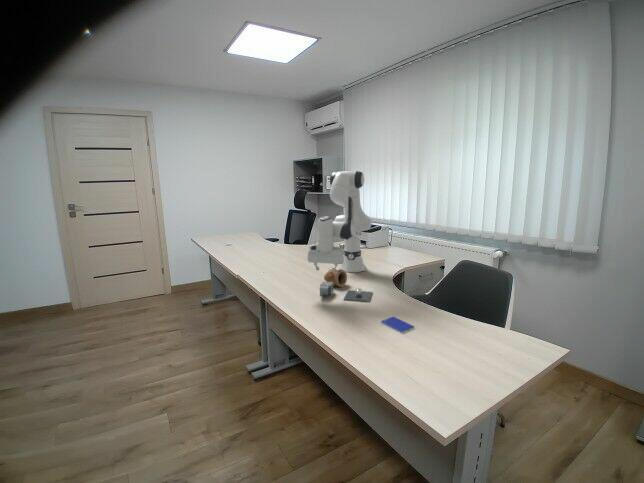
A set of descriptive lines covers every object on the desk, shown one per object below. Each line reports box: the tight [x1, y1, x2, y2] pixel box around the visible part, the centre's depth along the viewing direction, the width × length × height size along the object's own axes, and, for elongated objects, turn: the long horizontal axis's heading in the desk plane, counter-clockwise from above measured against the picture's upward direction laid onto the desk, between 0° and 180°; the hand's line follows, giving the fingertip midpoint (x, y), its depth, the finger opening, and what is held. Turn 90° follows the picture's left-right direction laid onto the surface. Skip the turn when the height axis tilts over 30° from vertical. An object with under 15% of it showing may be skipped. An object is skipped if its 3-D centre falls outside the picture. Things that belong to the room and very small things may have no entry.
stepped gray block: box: [319, 281, 335, 297], centre depth 183 cm, size 10×6×6 cm, turn 165°
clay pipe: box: [323, 268, 348, 288], centre depth 202 cm, size 19×11×15 cm
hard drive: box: [380, 316, 416, 334], centre depth 146 cm, size 2×8×12 cm
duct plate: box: [343, 288, 373, 303], centre depth 181 cm, size 14×14×4 cm
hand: (325, 270), depth 181 cm, fingers open, 8 cm apart
